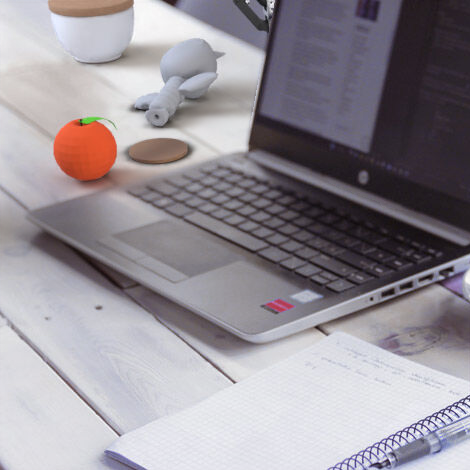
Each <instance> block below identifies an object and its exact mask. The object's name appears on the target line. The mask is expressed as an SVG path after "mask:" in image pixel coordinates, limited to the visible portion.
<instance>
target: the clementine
mask: <svg viewBox="0 0 470 470" xmlns="http://www.w3.org/2000/svg"><path fill="white" fill-rule="evenodd" d="M101 120H105V121H108V122H109V123H110V124H112V125H113V127H114V128H115V130H116V131H118V129H117V126H116V125H115V123H114V122H112V120H109V119H107V118H104V117H101V116H87V117H84V118H77V119H73V120H70V121H69V122H67V123H66V124H65V125H63V126H62V127H61V128H60V129H59V130H58V132H57V133H56V135H55V137H54V141H53V144H52V145H53V147H52V149H53V151H52V152H53V158H54V161H55V162H56V164H57V165H58V167H59V168H60V170H61V171H62V172H63V173H64V174H65V175H66V176H68V177H70V178H72V179H75V180H77V181H84V182H85V181H87V182H88V181H94V180H97V179H101V178H102V177H103V176H105V175H107V173H109V172H110V170H111V169H112V168H113V166H114V165H115V163H116V160H117V156H118V145H117V144H118V143H117V141H116V138H115V136H114V135H113V133H112V131H111V130H110V129H109V128H108V127H107V126H106V125H105V124H103V123H102V122H100V121H101Z"/></svg>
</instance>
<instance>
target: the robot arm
mask: <svg viewBox="0 0 470 470" xmlns="http://www.w3.org/2000/svg"><path fill="white" fill-rule="evenodd" d="M231 1H232V2H233V3H232V4H234V5H235V6H236V7H237V8H238V9H239V11H240V12H241V13H242V14H243V15H244V16H245V17H246V19H247V20H249V22H250V23H251V24H252V25H253V27H254V28H255V29H256V30H257V31H259V32H262V31H263V32H266V38H267V37H268V33H269V28H270V23H271V18H272V13H273V8H274V3H275V0H256V2H257V3H258V4H259V5H260V6H261V7H262V12H263V16H264V19H263V18H260V17H259V16H258V14H257V13H256V12H255V11H254V10H253V9H252V8H251V7H250V6H249V5H250V3H251V0H231Z"/></svg>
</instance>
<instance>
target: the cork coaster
mask: <svg viewBox="0 0 470 470" xmlns="http://www.w3.org/2000/svg"><path fill="white" fill-rule="evenodd" d="M188 152H189V145H188V144H187V143H186V142H185V141H183V140H180V139H177V138H171V137H170V138H169V137H157V138H149V139H145V140H141V141H139V142H137V143H134V144H133V145H131V146H130V148H129V150H128V155H129V157H130V158H131V159H132V160H134V161H136V162H138V163H141V164H142V163H143V164H165V163H170V162H174V161H177V160H180V159H182V158H183V157H185V156H187V154H188Z"/></svg>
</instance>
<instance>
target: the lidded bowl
mask: <svg viewBox="0 0 470 470" xmlns="http://www.w3.org/2000/svg"><path fill="white" fill-rule="evenodd" d="M134 4H135V0H47V6H48V10H49V13H50V19H51V24H52V27H53V32H54V34H55V37H56V39H57V41H58V42H59V44H60V45H61V47H62V48H63V49H64V50H65V51H66V52H67V53H69V54H70V55H71V56H73V57H74V60H75V61H76V62H80V63H86V64H102V63H108V62H112V61H116V60H118V59H119V58H122V55H123V52H124V51H125V50H126V49H127V48H128V47H129V45H130V43H131V41H132V39H133V36H134V31H135V9H134V8H135V7H134Z"/></svg>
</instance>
